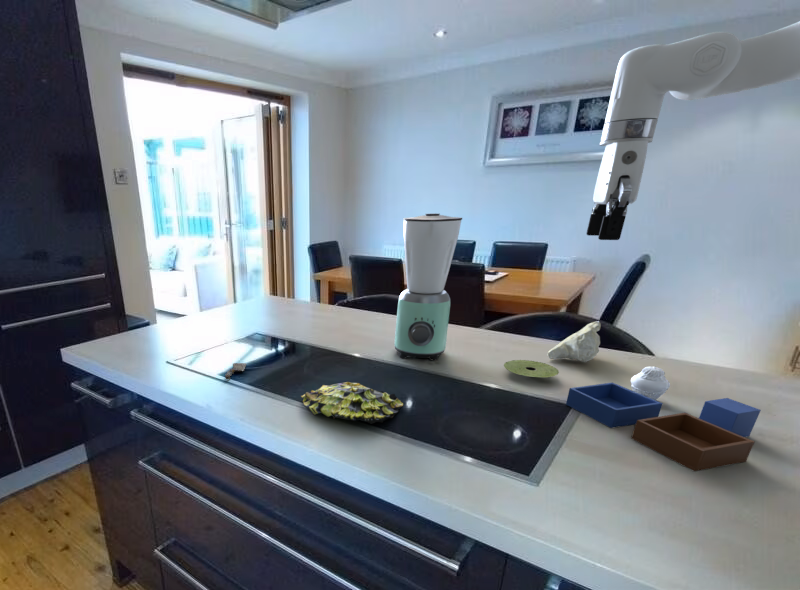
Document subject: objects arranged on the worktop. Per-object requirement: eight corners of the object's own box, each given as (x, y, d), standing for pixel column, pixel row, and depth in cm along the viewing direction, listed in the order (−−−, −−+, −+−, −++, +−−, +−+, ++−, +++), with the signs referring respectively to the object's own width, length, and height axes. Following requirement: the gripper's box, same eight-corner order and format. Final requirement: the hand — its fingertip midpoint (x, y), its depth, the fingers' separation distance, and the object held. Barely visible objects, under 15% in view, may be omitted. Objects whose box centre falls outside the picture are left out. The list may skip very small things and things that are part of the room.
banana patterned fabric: (282, 413, 88) (283, 381, 88) (328, 406, 101) (329, 377, 100) (371, 427, 76) (372, 389, 75) (411, 416, 88) (412, 384, 88)
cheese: (570, 378, 105) (633, 340, 100) (550, 353, 106) (611, 314, 101) (554, 374, 119) (609, 341, 115) (537, 353, 120) (590, 319, 116)
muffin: (630, 402, 88) (640, 369, 85) (622, 390, 93) (632, 359, 90) (668, 407, 85) (680, 373, 83) (658, 395, 91) (669, 363, 88)
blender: (446, 366, 108) (466, 214, 95) (391, 362, 112) (402, 215, 98) (443, 343, 125) (459, 211, 112) (395, 340, 129) (405, 212, 115)
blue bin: (607, 398, 90) (612, 382, 88) (656, 421, 80) (662, 403, 79) (565, 404, 88) (569, 387, 86) (611, 428, 78) (616, 410, 77)
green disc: (539, 389, 95) (541, 380, 94) (492, 373, 103) (493, 365, 103) (567, 377, 100) (569, 369, 99) (520, 363, 109) (521, 356, 108)
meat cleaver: (253, 365, 112) (236, 364, 114) (253, 361, 112) (235, 359, 114) (231, 380, 102) (212, 379, 104) (231, 376, 102) (212, 374, 103)
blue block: (717, 422, 79) (727, 397, 77) (749, 436, 75) (761, 409, 73) (695, 426, 78) (705, 401, 76) (727, 440, 74) (738, 413, 72)
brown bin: (678, 430, 77) (684, 412, 76) (746, 461, 68) (755, 441, 66) (631, 438, 75) (637, 419, 74) (694, 471, 66) (702, 451, 64)
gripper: (673, 126, 68) (640, 242, 75) (637, 138, 83) (612, 234, 89) (615, 129, 70) (588, 241, 77) (590, 140, 85) (570, 233, 92)
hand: (601, 237), depth 83 cm, fingers open, 9 cm apart
